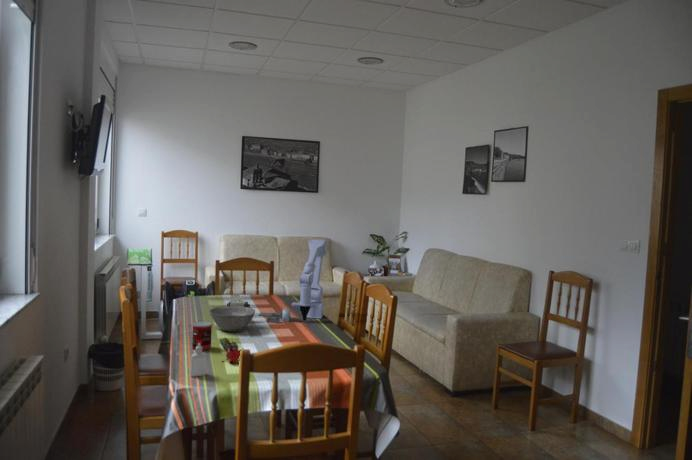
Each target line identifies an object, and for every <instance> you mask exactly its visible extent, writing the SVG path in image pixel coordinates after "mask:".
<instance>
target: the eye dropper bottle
mask: <svg viewBox="0 0 692 460" xmlns="http://www.w3.org/2000/svg"><path fill="white" fill-rule="evenodd" d="M207 358H208V357H207V354H206V353H205V352H203V351H202V347H201V346H200V343H198V346H197V347H196V350H195V353H193V354H191V355H190V370H189V371H190V372H189V373H190V374H189V375H190V376H191V377H193V378H195V377H196V378H197V376H199V377H203V376H202V375H204V376H206V374H207Z"/></svg>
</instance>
